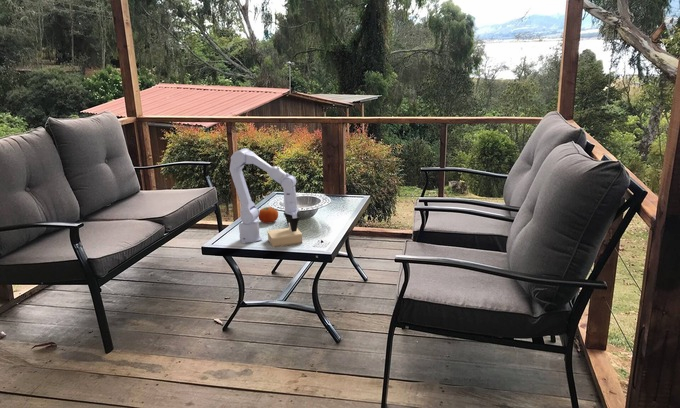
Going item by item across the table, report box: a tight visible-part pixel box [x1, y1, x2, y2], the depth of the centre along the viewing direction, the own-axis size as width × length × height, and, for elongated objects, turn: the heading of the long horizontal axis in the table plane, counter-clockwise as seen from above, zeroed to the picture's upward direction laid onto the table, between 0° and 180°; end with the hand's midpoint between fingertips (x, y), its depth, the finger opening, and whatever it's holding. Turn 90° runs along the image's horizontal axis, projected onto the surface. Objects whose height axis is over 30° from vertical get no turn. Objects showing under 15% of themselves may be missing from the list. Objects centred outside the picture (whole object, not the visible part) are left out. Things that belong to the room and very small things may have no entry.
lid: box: [266, 223, 303, 239], centre depth 241 cm, size 14×12×5 cm
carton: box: [267, 233, 303, 248], centre depth 242 cm, size 14×12×4 cm
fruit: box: [257, 206, 279, 224], centre depth 274 cm, size 11×10×8 cm
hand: (292, 229), depth 242 cm, fingers open, 6 cm apart
